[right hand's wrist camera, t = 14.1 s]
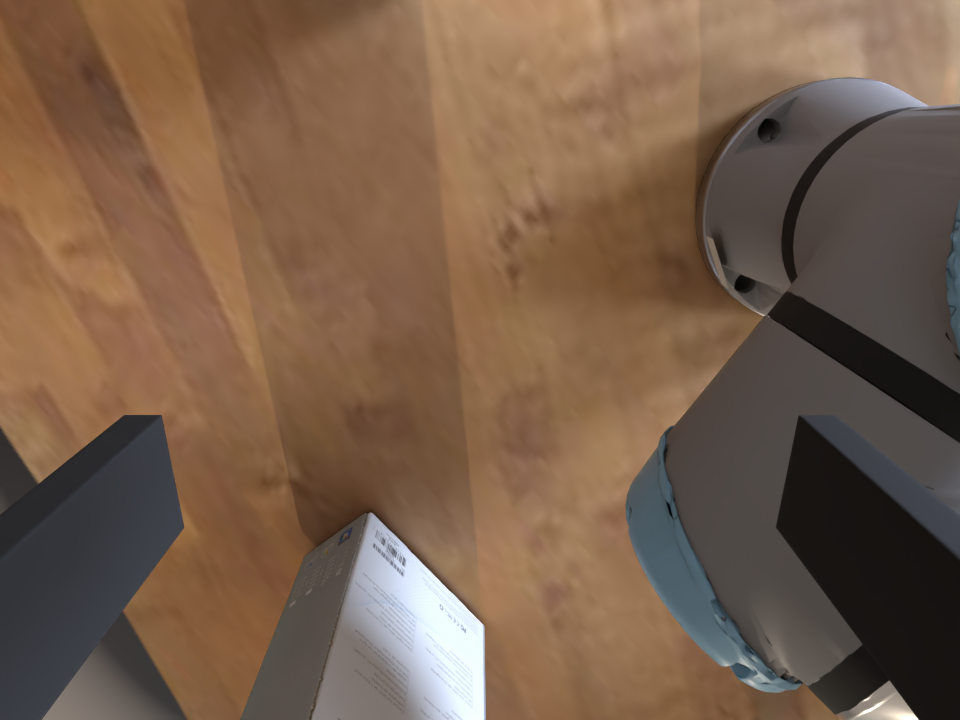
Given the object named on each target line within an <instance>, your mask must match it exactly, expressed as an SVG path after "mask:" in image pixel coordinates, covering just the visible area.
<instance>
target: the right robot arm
mask: <svg viewBox="0 0 960 720" xmlns="http://www.w3.org/2000/svg"><path fill="white" fill-rule="evenodd" d="M696 233H697V240H698V244H699V249H700V252H701V255H702V258H703V260H704V262H705V264H706V267H707V269H708V270H709V272H710V273H711V275H712V277H713V278H714V279H715V281H716V282H717V283H718V284H719V286H720V287H721V288H722V289H723V290H724V291H725V292H726V293H728V294H729V295H730V296H731V297H733V298H734V299H735V300H737V301H738V302H740V303H741V304H743V305H744V306H746V307H748V308H749V309H751V310H753V311H755V312H757V313H759V314H761V315H763V316H764V318H763V319H762V320H761V321H760V322H759V324H758V325H757V326H756V327H755V329H754V330H753V331H752V332H751V333H750V335H749V336H748V337H747V338H746V340H745V341H744V342H743V343H742V344H741V346H740V347H739V348H738V349H737V351H736V352H735V353H734V354H733V355H732V357H731V358H730V359H729V360H728V362H727V363H726V364H725V365H724V366H723V368H722V369H721V370H720V371H719V373H718V374H717V375H716V376H715V377H714V379H713V380H712V381H711V382H710V384H709V385H708V386H707V387H706V388H705V390H704V391H703V392H702V393H701V394H700V396H699V397H698V398H697V399H696V401H695V402H694V403H693V404H692V405H691V407H690V408H689V409H688V410H687V412H686V413H685V414H684V415H683V416H682V418H681V419H680V420H679V421H678V422H677V424H676V425H675V426H670V427H669V428H668V429H667V430H666V431H665V432H664V434H663V435H662V436H661V438H660V441H659V444H658V447H657V449H656V450H655V451H654V453H653V454H652V456H651V457H650V458H649V460H648V461H647V463H646V464H645V465H644V467H643V468H642V470H641V471H640V472H639V474H638V475H637V476H636V478H635V479H634V480H633V482H632V484H631V486H630V488H629V491H628V494H627V499H626V519H627V523H628V525H629V536H630V539H631V543H632V545H633V548H634V551H635V553H636V555H637V558H638V560H639V562H640V564H641V566H642V568H643V570H644V572H645V574H646V576H647V578H648V579H649V581H650V583H651V585H652V586H653V588H654V589H655V591H656V592H657V594H658V595H659V597H660V599H661V600H662V601H663V603H664V604H665V606H666V607H667V608H668V610H669V611H670V612H671V614H672V615H673V617H674V618H675V619H676V620H677V622H678V623H679V624H680V625H681V626H682V628H683V629H684V630H685V631H686V633H687V634H688V635H689V636H690V637H691V638H692V639H693V640H694V641H695V642H696V643H697V645H698V646H699V647H700V648H701V649H703V650H704V651H705V652H706V653H707V654H708V655H709V656H710V657H711V658H712V659H713V660H715V661H716V662H717V663H718V664H719V665H721V666H724V667H727V666H730V667H731V669H732V671H733V672H734V674H735V675H736V676H737V678H738V679H739V680H741V681H742V682H744V683H746V684H747V685H749V686H751V687H753V688H755V689H758V690H761V691H764V692H772V693H777V692H782V691H785V690H795V689H797V688H798V687H799V686H800V685H801V684H802V683H804V684H805V685H806V686H807V687H808V688H809V689H810V690H811V691H812V692H813V693H814V694H815V695H816V696H817V697H818V698H819V699H820V700H821V701H822V702H823V703H824V704H825V705H826V706H827V707H828V708H829V709H830V710H831V711H832V712H833V713H834V714H835V715H836V716H837V717H838V718H839V719H840V720H960V104H956V105H940V106H927V105H926V104H924V103H922V102H920V101H919V100H917V99H915V98H913V97H912V96H910V95H908V94H907V93H905V92H903V91H901V90H899V89H897V88H895V87H893V86H890V85H888V84H886V83H882V82H879V81H875V80H870V79H864V78H835V79H828V80H821V81H815V82H809V83H805V84H802V85H798V86H795V87H792V88H790V89H787V90H785V91H783V92H780V93H778V94H776V95H774V96H773V97H771V98H769V99H767V100H766V101H764V102H763V103H761V104H760V105H758V106H757V107H756V108H754V109H753V110H752V111H750V112H749V113H748V114H747V115H746V116H745V117H743V118H742V119H741V120H740V121H739V122H738V123H737V124H736V125H735V126H734V127H733V128H732V130H731V131H730V132H729V133H728V135H727V136H726V137H725V138H724V140H723V141H722V143H721V144H720V145H719V147H718V148H717V150H716V152H715V153H714V155H713V157H712V159H711V161H710V163H709V165H708V167H707V169H706V171H705V174H704V177H703V180H702V183H701V186H700V190H699V194H698V200H697V205H696ZM777 322H778V323H777ZM780 324H781V325H780ZM782 325H783V326H784V327H783V326H782ZM183 528H184V524H183V519H182V514H181V509H180V504H179V499H178V494H177V489H176V484H175V479H174V474H173V469H172V465H171V460H170V455H169V450H168V445H167V440H166V435H165V430H164V425H163V420H162V415H124V416H123V417H121V418H120V419H119V420H118V421H116V422H115V423H114V424H113V425H111V426H110V427H109V428H108V429H106V430H105V431H104V432H103V433H101V434H100V435H99V436H98V437H97V438H95V439H94V440H93V441H92V442H90V443H89V444H88V445H87V446H85V447H84V448H83V449H82V450H80V451H79V452H78V453H77V454H75V455H74V456H73V457H72V458H70V459H69V460H68V461H67V462H65V463H64V464H63V465H62V466H60V467H59V468H58V469H57V470H55V471H54V472H53V473H52V474H50V475H49V476H48V477H47V478H46V479H44V480H43V481H42V482H41V483H39V484H38V485H37V486H36V487H34V488H33V489H32V490H31V491H29V492H28V493H27V494H26V495H24V496H23V497H22V498H21V499H19V500H18V501H17V502H16V503H14V504H13V505H12V506H11V507H9V508H8V509H7V510H6V511H5V512H3V513H2V514H1V515H0V720H42V718H43V717H44V716H45V714H46V713H47V712H48V710H49V709H50V708H51V706H52V705H53V704H54V702H55V701H56V699H57V698H58V697H59V695H60V694H61V693H62V691H63V690H64V689H65V687H66V686H67V685H68V683H69V682H70V681H71V679H72V678H73V677H74V675H75V674H76V673H77V671H78V670H79V669H80V667H81V666H82V665H83V663H84V662H85V661H86V659H87V658H88V656H89V655H90V654H91V652H92V651H93V650H94V648H95V647H96V646H97V644H98V643H99V642H100V640H101V639H102V638H103V636H104V635H105V634H106V632H107V631H108V629H109V628H110V627H111V625H112V624H113V623H114V621H115V620H116V619H117V617H118V616H119V615H120V613H121V612H122V611H123V609H124V608H125V607H126V605H127V604H128V603H129V601H130V600H131V599H132V597H133V596H134V595H135V593H136V592H137V590H138V589H139V588H140V586H141V585H142V584H143V582H144V581H145V580H146V578H147V577H148V576H149V574H150V573H151V572H152V570H153V569H154V568H155V566H156V565H157V564H158V562H159V561H160V559H161V558H162V557H163V555H164V554H165V553H166V551H167V550H168V549H169V547H170V546H171V545H172V543H173V542H174V541H175V539H176V538H177V537H178V535H179V534H180V533H181V531H182V530H183Z"/></svg>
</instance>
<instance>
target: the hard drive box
mask: <svg viewBox="0 0 960 720" xmlns="http://www.w3.org/2000/svg"><path fill="white" fill-rule="evenodd" d="M484 629H485V628H484V625H483V624H482V623H481V622H480V621H479V620H478V619H477V618H476V617H475V616H474V615H473V614H472V613H471V612H470V611H469V610H468V609H467V608H466V607H465V605H464V604H462V603H461V602H460V601H459V600H458V598H457V597H456V596H455V595H454V594H452V593H451V592H450V591H449V590H448V589H447V588H446V587H445V586H444V585H443V584H442V583H441V582H440V581H439V580H438V579H437V578H436V577H435V576H434V575H433V574H432V573H431V572H430V571H429V570H428V569H427V568H426V567H425V566H424V565H423V564H422V563H421V562H420V561H419V559H418V558H417V557H416V556H415V555H414V554H413V553H411V552H410V550H409V549H408V548H407V547H406V546H405V545H404V544H403V543H402V542H401V541H400V540H399V539H398V538H397V537H396V536H395V535H394V534H393V533H392V532H391V531H390V530H389V529H388V528H387V527H386V526H385V525H384V524H383V523H382V522H381V521H380V520H379V519H378V518H377V517H376V516H375V515H374V514H373V513H371V512H370V513H368V514H367V513H364V514H363V515H361V516H360V517H359V518H357V519H356V520H354V521H353V522H351V523H350V524H349V525H347V526H346V527H344V528H343V529H342V530H340V531H339V532H337V533H336V534H335V535H333V536H332V537H330V538H329V539H328V540H326V541H325V542H323V543H322V544H321V545H319V546H318V547H316V548H315V549H314V550H312V551H311V552H310V553H308V554H307V555H306V556H304V559H303V561H302V564H301V566H300V569H299V572H298V574H297V577H296V580H295V582H294V585H293V587H292V590H291V592H290V595H289V597H288V600H287V602H286V605H285V608H284V610H283V613H282V615H281V618H280V620H279V623H278V625H277V628H276V630H275V633H274V635H273V638H272V640H271V643H270V645H269V648H268V650H267V653H266V655H265V658H264V660H263V663H262V665H261V668H260V670H259V673H258V676H257V678H256V681H255V683H254V686H253V688H252V691H251V693H250V696H249V698H248V701H247V704H246V706H245V709H244V711H243V714H242V716H241V719H240V720H486V694H485V631H484Z"/></svg>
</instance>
